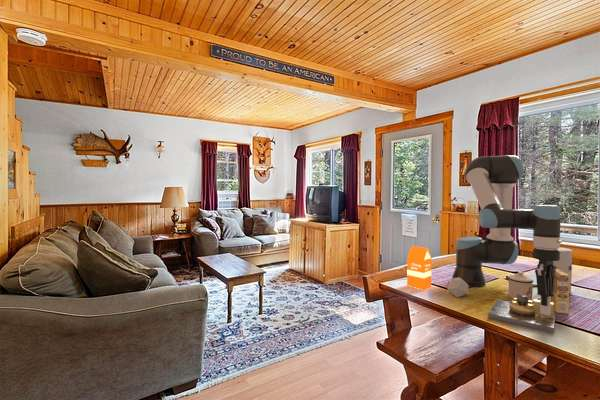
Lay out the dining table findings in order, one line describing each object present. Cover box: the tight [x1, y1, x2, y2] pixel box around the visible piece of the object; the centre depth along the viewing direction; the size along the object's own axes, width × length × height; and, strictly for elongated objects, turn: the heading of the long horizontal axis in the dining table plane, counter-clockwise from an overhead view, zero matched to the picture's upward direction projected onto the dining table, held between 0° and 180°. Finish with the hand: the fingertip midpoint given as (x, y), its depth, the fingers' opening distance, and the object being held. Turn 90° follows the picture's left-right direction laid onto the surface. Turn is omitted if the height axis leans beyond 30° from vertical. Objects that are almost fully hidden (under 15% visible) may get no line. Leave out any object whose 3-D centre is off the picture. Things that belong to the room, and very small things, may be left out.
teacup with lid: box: [507, 271, 534, 301], centre depth 138 cm, size 12×9×12 cm
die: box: [447, 277, 470, 298], centre depth 141 cm, size 8×9×10 cm
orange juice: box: [406, 245, 432, 291], centre depth 154 cm, size 8×9×20 cm
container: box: [553, 246, 573, 294], centre depth 146 cm, size 10×10×20 cm
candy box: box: [550, 269, 570, 315], centre depth 124 cm, size 9×4×15 cm, turn 159°
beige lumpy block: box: [509, 298, 554, 318], centre depth 116 cm, size 13×8×5 cm, turn 52°
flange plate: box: [487, 294, 557, 334], centre depth 117 cm, size 19×19×8 cm
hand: (545, 313), depth 111 cm, fingers closed
